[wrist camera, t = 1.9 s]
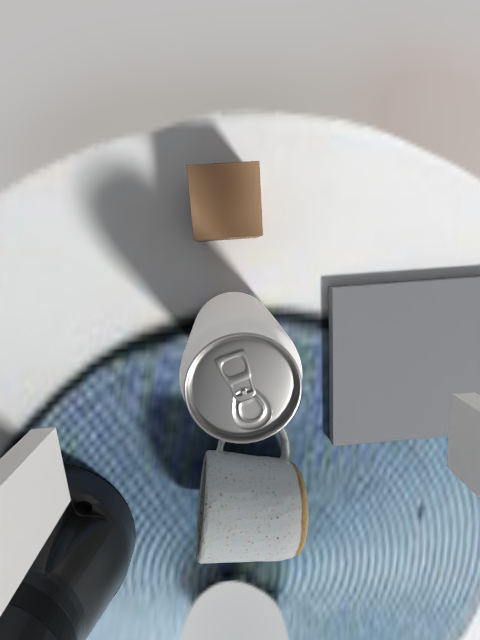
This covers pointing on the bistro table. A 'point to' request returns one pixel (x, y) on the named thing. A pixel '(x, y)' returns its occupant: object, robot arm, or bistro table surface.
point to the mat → (401, 357)
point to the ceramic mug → (250, 507)
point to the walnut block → (225, 200)
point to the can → (240, 370)
